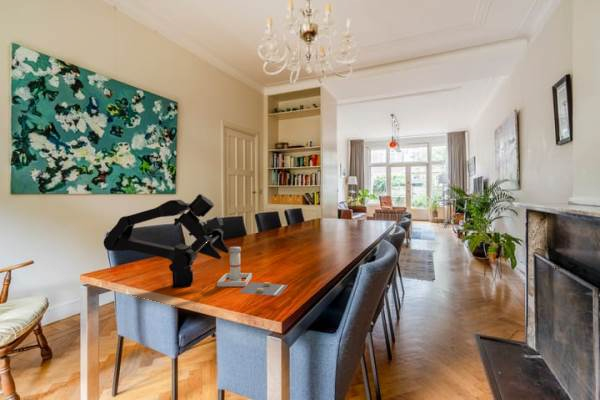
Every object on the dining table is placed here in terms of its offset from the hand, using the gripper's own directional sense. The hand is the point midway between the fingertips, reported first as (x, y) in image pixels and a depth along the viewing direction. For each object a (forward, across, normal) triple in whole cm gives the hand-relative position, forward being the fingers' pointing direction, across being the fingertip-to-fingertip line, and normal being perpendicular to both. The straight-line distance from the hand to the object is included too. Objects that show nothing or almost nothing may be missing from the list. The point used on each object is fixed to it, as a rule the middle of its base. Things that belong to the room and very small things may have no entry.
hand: (224, 255), depth 101 cm
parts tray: (+10, 0, +5) cm, 11 cm away
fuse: (+10, 0, +4) cm, 11 cm away
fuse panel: (+19, -8, -4) cm, 21 cm away
